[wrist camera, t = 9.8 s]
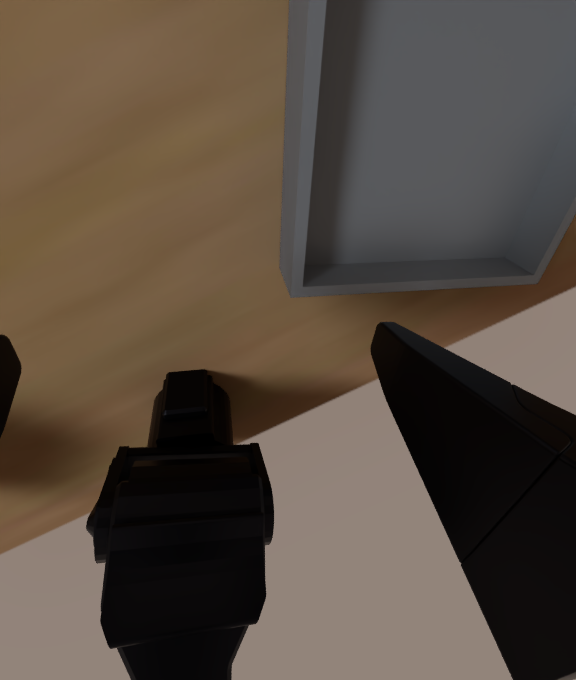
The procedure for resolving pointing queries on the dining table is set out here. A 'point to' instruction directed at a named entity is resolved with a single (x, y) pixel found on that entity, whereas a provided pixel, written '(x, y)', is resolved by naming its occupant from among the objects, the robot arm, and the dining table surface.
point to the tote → (426, 143)
